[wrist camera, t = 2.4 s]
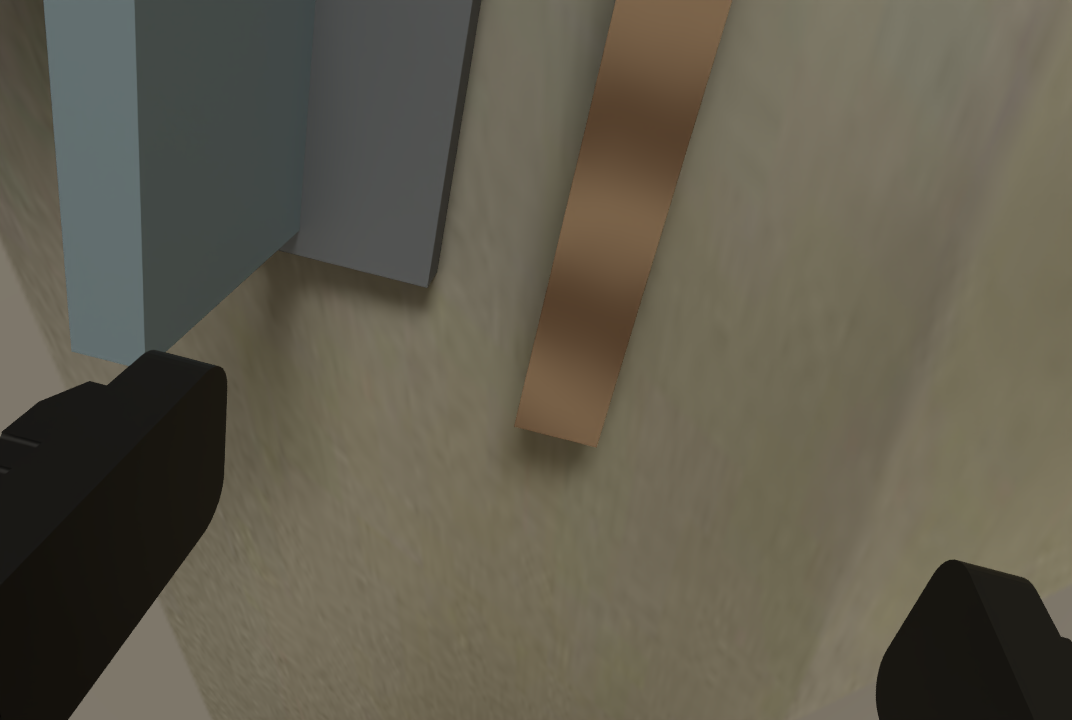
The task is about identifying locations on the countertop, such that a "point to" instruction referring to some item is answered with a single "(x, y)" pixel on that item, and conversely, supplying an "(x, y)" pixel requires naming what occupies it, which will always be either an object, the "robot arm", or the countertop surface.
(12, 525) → the robot arm
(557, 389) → the light wood bar
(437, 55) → the stand
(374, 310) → the countertop surface
